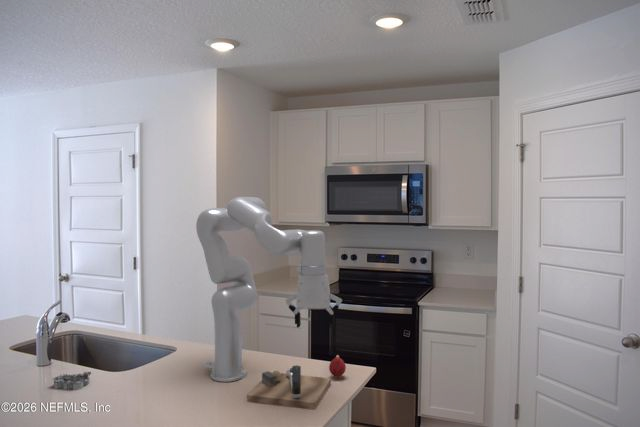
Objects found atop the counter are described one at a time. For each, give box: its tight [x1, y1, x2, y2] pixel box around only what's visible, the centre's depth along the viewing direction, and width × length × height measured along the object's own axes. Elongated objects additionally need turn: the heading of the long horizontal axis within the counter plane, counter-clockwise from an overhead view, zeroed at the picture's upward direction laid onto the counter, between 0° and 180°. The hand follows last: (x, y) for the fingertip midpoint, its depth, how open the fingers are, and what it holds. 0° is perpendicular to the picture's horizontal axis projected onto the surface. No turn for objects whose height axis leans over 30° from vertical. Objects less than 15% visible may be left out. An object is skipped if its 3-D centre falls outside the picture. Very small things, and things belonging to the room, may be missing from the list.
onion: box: [328, 354, 347, 379], centre depth 164 cm, size 6×6×8 cm
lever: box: [285, 364, 302, 398], centre depth 152 cm, size 20×4×9 cm, turn 7°
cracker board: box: [246, 370, 332, 410], centre depth 152 cm, size 22×20×6 cm
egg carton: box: [51, 371, 92, 391], centre depth 157 cm, size 11×8×4 cm
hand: (314, 326), depth 143 cm, fingers open, 9 cm apart
